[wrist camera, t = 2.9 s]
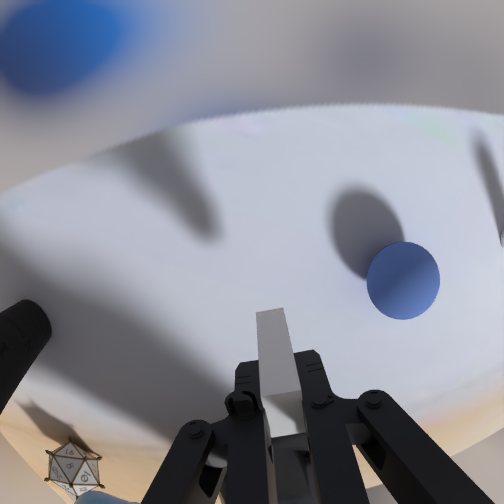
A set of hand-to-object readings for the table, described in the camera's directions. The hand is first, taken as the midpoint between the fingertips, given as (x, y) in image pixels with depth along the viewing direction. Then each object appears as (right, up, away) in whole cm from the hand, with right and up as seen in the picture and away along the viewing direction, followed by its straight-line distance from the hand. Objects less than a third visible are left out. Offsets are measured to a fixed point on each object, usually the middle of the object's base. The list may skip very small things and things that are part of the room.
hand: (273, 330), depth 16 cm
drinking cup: (-23, -2, +7) cm, 24 cm away
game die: (-24, -22, +13) cm, 35 cm away
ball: (+9, +2, +3) cm, 10 cm away
